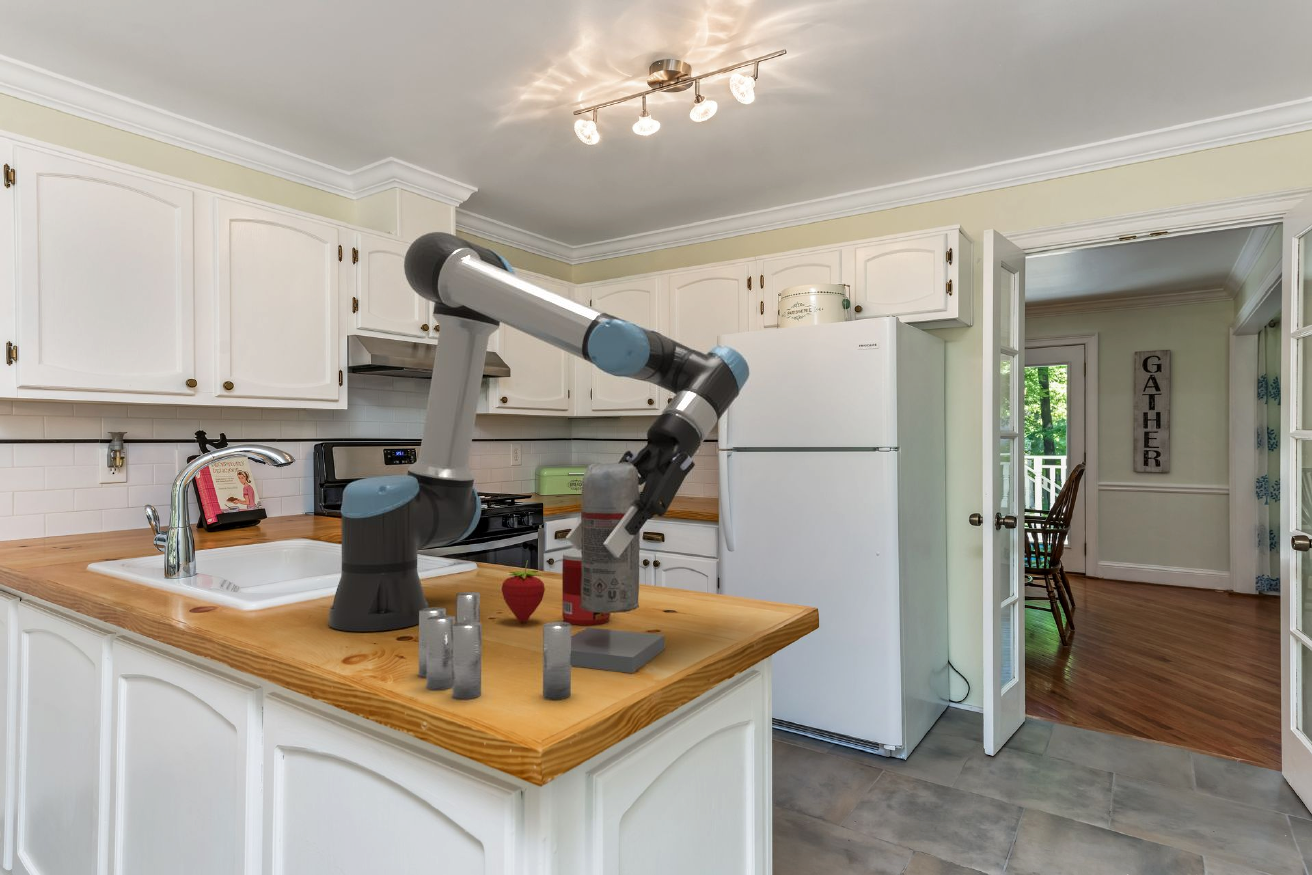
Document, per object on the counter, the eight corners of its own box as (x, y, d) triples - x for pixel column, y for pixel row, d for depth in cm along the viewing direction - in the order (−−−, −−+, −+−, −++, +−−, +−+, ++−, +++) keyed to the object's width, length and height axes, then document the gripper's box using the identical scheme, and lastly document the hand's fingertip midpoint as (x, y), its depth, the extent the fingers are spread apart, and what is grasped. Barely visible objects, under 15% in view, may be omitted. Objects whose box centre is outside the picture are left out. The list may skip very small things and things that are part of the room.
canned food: (603, 627, 118) (603, 557, 118) (555, 624, 120) (555, 556, 120) (615, 616, 126) (616, 551, 126) (570, 614, 127) (570, 549, 127)
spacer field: (373, 686, 88) (374, 618, 88) (464, 647, 105) (465, 591, 106) (547, 711, 80) (547, 637, 80) (615, 665, 97) (615, 603, 97)
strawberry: (516, 615, 126) (516, 556, 126) (552, 621, 122) (553, 559, 122) (492, 623, 120) (493, 561, 120) (530, 628, 117) (530, 564, 117)
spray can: (654, 607, 102) (652, 461, 102) (611, 618, 96) (610, 462, 96) (611, 600, 108) (609, 461, 108) (568, 609, 101) (566, 462, 102)
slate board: (548, 663, 98) (548, 647, 98) (587, 641, 109) (587, 627, 109) (632, 673, 94) (632, 657, 94) (664, 649, 105) (664, 635, 105)
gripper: (745, 447, 104) (656, 575, 93) (650, 447, 120) (565, 556, 109) (717, 407, 100) (622, 535, 90) (623, 413, 117) (533, 522, 106)
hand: (591, 547), depth 100 cm, fingers closed on spray can, 8 cm apart
